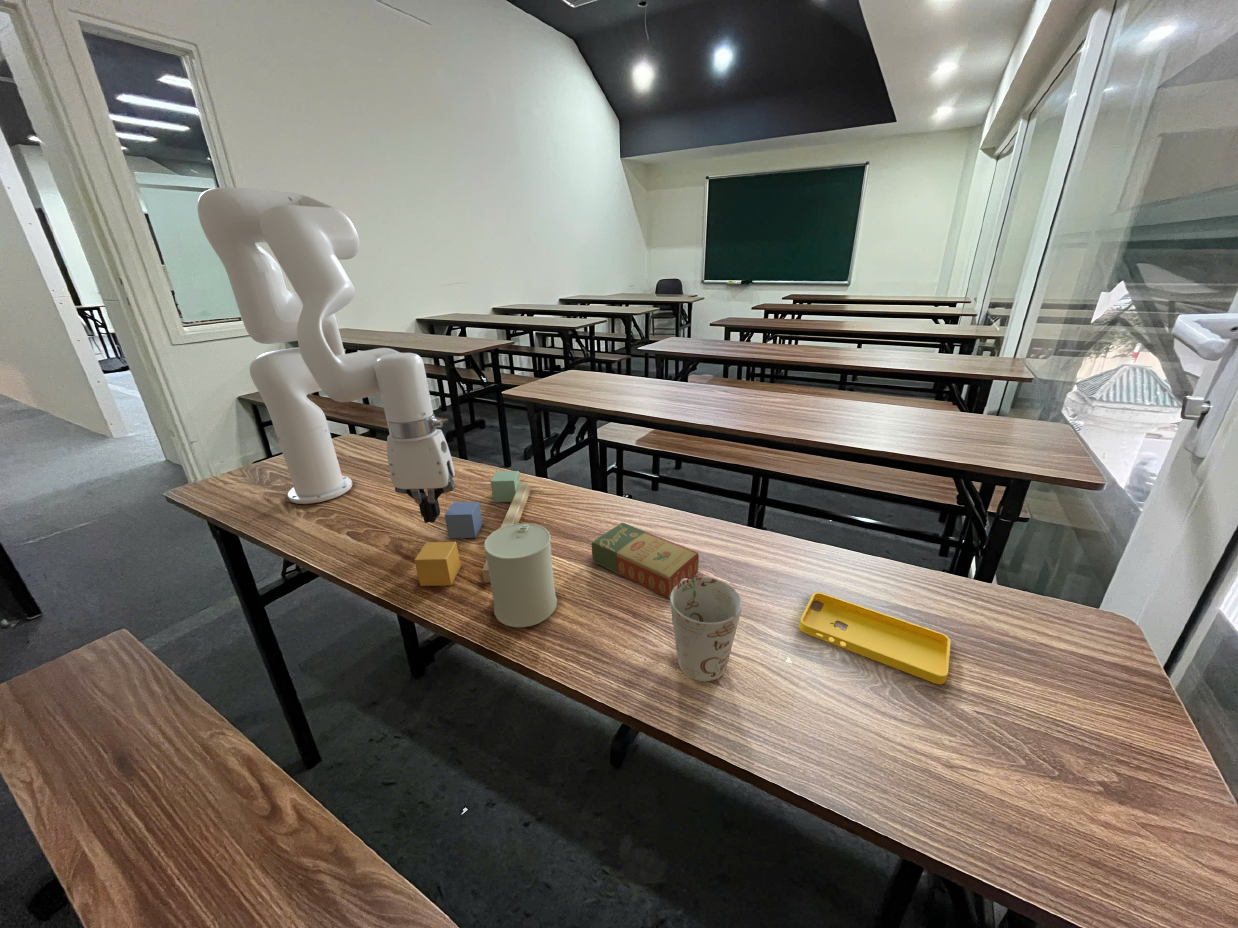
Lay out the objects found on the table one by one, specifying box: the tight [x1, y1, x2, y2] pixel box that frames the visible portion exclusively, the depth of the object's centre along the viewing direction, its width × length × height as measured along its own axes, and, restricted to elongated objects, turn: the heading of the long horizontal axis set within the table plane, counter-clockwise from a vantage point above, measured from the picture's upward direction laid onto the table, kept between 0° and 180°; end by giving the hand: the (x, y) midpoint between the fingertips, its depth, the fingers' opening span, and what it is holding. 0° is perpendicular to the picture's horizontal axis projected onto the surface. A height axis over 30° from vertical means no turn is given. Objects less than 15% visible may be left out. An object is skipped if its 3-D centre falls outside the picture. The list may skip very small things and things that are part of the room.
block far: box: [490, 470, 521, 503], centre depth 103 cm, size 5×5×5 cm
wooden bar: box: [481, 482, 531, 584], centre depth 91 cm, size 32×2×2 cm, turn 0°
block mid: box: [444, 501, 484, 539], centre depth 90 cm, size 5×5×5 cm
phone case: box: [798, 591, 952, 685], centre depth 63 cm, size 8×17×1 cm, turn 55°
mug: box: [669, 577, 743, 682], centre depth 60 cm, size 8×13×10 cm, turn 16°
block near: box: [413, 541, 462, 587], centre depth 77 cm, size 5×5×5 cm
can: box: [483, 522, 558, 628], centre depth 69 cm, size 9×9×12 cm
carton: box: [591, 522, 700, 599], centre depth 78 cm, size 8×16×4 cm, turn 50°
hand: (432, 519), depth 90 cm, fingers closed
